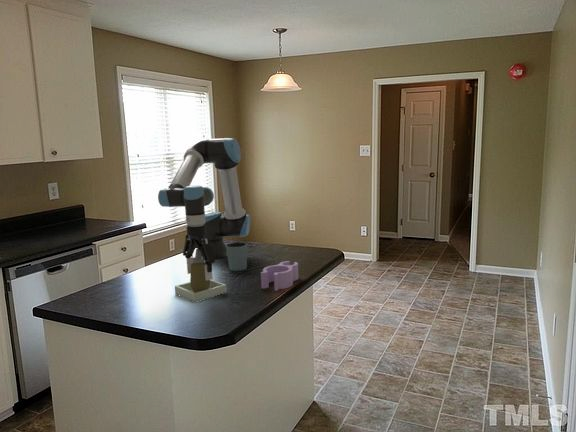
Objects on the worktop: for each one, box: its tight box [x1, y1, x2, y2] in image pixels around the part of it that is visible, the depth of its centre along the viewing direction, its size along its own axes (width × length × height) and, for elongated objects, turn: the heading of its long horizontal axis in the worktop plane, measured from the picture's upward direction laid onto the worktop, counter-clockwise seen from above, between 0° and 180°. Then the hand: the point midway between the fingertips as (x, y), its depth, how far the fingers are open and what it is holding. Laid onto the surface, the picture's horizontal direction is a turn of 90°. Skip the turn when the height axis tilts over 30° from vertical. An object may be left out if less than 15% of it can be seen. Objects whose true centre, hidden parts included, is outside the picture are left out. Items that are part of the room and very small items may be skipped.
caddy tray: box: [174, 278, 228, 303], centre depth 188 cm, size 15×15×4 cm
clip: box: [260, 260, 299, 291], centre depth 198 cm, size 20×12×7 cm, turn 149°
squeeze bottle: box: [189, 248, 210, 293], centre depth 187 cm, size 8×8×18 cm
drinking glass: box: [225, 241, 248, 272], centre depth 222 cm, size 10×10×12 cm
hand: (199, 276), depth 187 cm, fingers open, 13 cm apart
